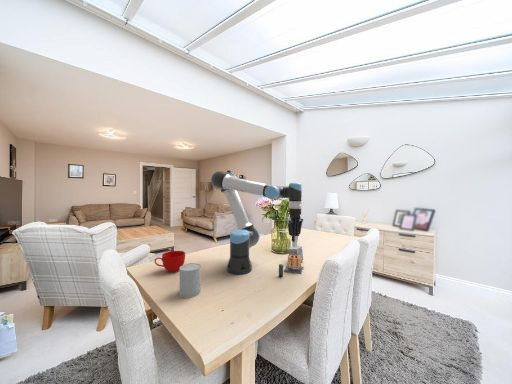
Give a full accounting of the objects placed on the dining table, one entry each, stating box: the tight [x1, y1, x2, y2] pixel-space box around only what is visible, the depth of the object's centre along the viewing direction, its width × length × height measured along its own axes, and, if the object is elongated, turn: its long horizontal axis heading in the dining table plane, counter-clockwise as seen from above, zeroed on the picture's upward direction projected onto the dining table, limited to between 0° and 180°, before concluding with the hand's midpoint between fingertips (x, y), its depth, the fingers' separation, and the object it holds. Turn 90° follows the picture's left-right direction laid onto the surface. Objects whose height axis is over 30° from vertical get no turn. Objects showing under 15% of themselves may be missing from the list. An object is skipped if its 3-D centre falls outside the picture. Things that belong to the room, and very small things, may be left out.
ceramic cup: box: [154, 250, 186, 273], centre depth 126 cm, size 13×17×10 cm
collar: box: [287, 254, 302, 267], centre depth 130 cm, size 8×8×5 cm
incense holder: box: [286, 245, 304, 262], centre depth 144 cm, size 10×8×10 cm
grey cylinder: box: [179, 262, 202, 299], centre depth 100 cm, size 10×10×12 cm
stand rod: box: [278, 263, 284, 278], centre depth 120 cm, size 2×2×6 cm
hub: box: [283, 264, 305, 275], centre depth 130 cm, size 10×10×7 cm
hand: (294, 246), depth 130 cm, fingers closed
